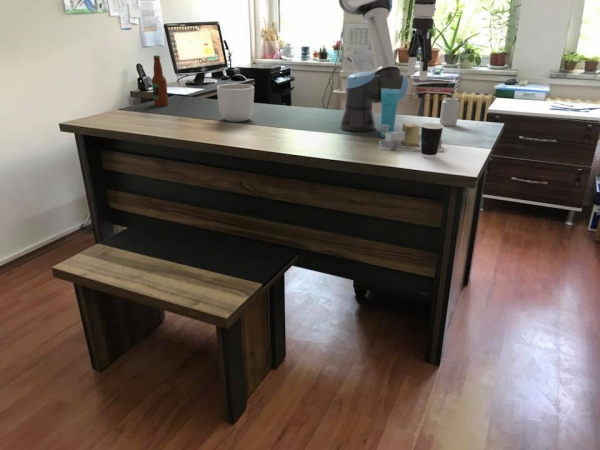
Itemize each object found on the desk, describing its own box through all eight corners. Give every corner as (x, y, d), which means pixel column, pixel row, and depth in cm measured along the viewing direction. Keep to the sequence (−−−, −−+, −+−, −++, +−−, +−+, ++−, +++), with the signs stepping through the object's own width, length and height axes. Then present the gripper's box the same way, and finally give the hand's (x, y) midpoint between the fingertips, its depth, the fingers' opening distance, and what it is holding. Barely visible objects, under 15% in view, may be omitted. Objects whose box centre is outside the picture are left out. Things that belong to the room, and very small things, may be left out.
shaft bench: (380, 150, 184) (381, 134, 181) (378, 141, 196) (380, 126, 194) (443, 152, 182) (445, 136, 179) (438, 143, 194) (440, 128, 192)
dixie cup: (413, 156, 177) (416, 125, 173) (424, 151, 183) (427, 122, 178) (433, 160, 172) (437, 128, 168) (443, 155, 178) (447, 125, 174)
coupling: (405, 144, 188) (407, 126, 186) (401, 141, 193) (402, 123, 190) (418, 144, 189) (420, 126, 186) (413, 141, 194) (415, 123, 191)
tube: (395, 135, 206) (399, 88, 198) (396, 138, 201) (400, 89, 194) (377, 134, 207) (380, 87, 199) (377, 137, 202) (381, 89, 195)
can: (457, 127, 222) (460, 100, 217) (439, 126, 223) (443, 99, 219) (455, 123, 229) (459, 97, 224) (438, 122, 230) (442, 96, 225)
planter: (247, 115, 241) (246, 83, 235) (260, 122, 227) (259, 88, 221) (213, 118, 234) (212, 84, 228) (224, 125, 220) (223, 90, 214)
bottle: (157, 103, 267) (152, 54, 257) (170, 104, 266) (165, 55, 257) (152, 106, 260) (146, 56, 250) (165, 106, 260) (160, 56, 250)
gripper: (446, 19, 171) (438, 82, 180) (421, 16, 193) (415, 72, 202) (425, 18, 170) (418, 82, 179) (402, 15, 192) (397, 72, 201)
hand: (416, 77), depth 190 cm, fingers open, 13 cm apart
